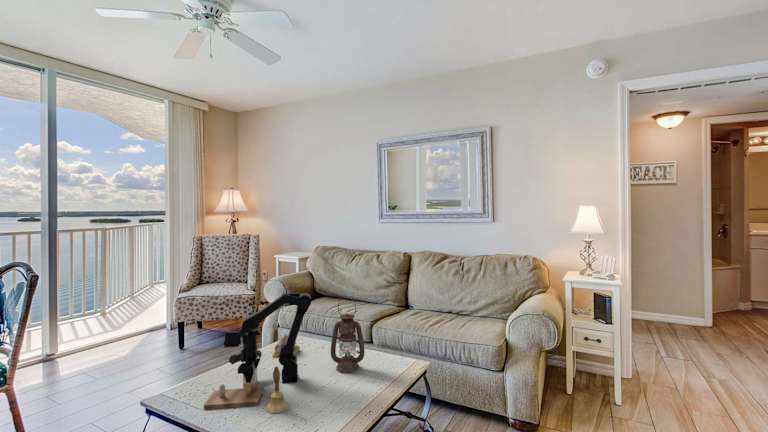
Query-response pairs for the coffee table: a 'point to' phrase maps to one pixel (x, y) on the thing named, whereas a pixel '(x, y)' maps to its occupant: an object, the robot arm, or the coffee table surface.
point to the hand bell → (276, 396)
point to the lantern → (347, 343)
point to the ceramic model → (282, 341)
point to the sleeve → (253, 380)
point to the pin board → (234, 397)
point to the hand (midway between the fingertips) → (250, 380)
